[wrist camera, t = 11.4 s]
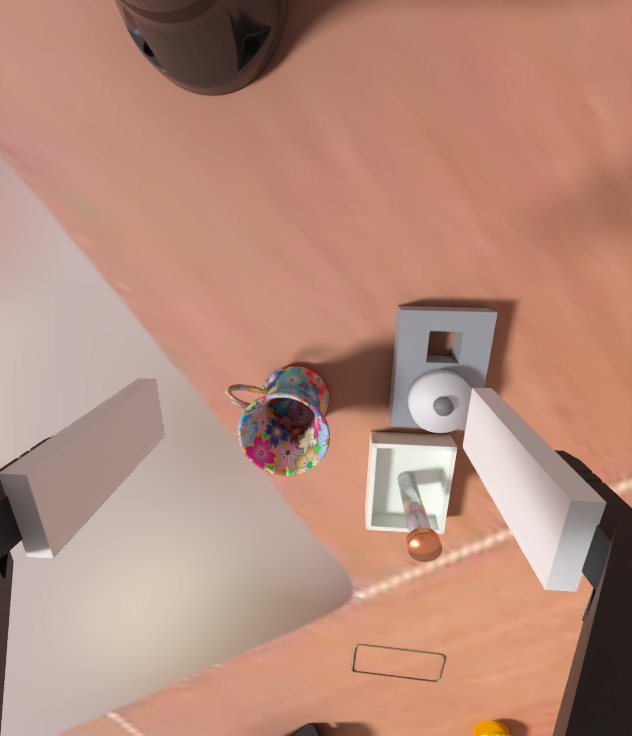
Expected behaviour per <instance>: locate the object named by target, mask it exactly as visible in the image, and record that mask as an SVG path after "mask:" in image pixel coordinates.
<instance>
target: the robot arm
mask: <svg viewBox="0 0 632 736" xmlns="http://www.w3.org/2000/svg"><path fill="white" fill-rule="evenodd" d="M115 1H116V4H117V6H118V9H119V11H120V13H121V16H122V18H123V21H124V23H125V25H126V27H127V30H128V31H129V33H130V35H131V37H132V39H133V40H134V42H135V44H136V45H137V47H138V48H139V49H140V51H141V52H142V53H143V55H144V56H145V57H146V58H147V59H148V61H149V62H150V63H151V64H152V65H153V66H154V67H155V68H156V69H157V70H159V71H160V72H161V73H162V74H163V75H164V76H165V77H166V78H167V79H168V80H170V81H171V82H173V83H174V84H176V85H177V86H179V87H181V88H183V89H185V90H187V91H190V92H193V93H196V94H200V95H210V96H214V95H223V94H227V93H231V92H234V91H236V90H238V89H240V88H242V87H244V86H245V85H247V84H248V83H250V82H251V81H252V80H254V79H255V78H256V77H257V76H258V75H259V74H260V73H261V72H262V70H263V69H264V68H265V67H266V65H267V64H268V62H269V61H270V59H271V58H272V56H273V54H274V52H275V50H276V48H277V45H278V43H279V40H280V37H281V34H282V31H283V27H284V22H285V15H286V5H287V0H115ZM164 436H165V432H164V426H163V420H162V413H161V407H160V402H159V395H158V389H157V382H156V379H142V378H141V379H137V380H136V381H134V382H133V383H131V384H130V385H128V386H127V387H125V388H124V389H122V390H121V391H119V392H118V393H116V394H115V395H113V396H112V397H111V398H109V399H107V400H106V401H105V402H103V403H102V404H100V405H99V406H97V407H96V408H94V409H93V410H91V411H90V412H88V413H87V414H85V415H84V416H82V417H81V418H79V419H78V420H76V421H75V422H73V423H72V424H71V425H69V426H68V427H66V428H65V429H63V430H62V431H60V432H59V433H57V434H56V435H54V436H52V437H49V438H47V439H45V440H43V441H42V442H40V443H38V444H37V445H36V446H34V447H32V448H31V449H30V451H27V452H25V453H24V454H22V455H20V456H19V458H16V459H14V460H13V461H11V462H10V463H8V464H7V465H5V466H4V467H3V468H1V469H0V732H1V720H2V706H3V692H4V680H5V667H6V653H7V640H8V626H9V614H10V599H11V587H12V574H13V559H12V556H11V553H10V550H11V549H12V548H13V547H14V546H15V545H17V544H18V543H19V542H20V541H21V540H22V543H23V546H24V548H25V551H26V554H27V556H28V557H40V558H54V557H55V556H56V555H57V554H58V553H59V552H60V551H61V549H62V548H63V547H64V546H65V545H66V544H67V543H68V542H69V541H70V540H71V539H72V537H73V536H74V535H75V534H76V533H77V532H78V531H79V530H80V529H81V528H82V526H83V525H84V524H85V523H86V522H87V521H88V520H89V519H90V518H91V517H92V516H93V514H94V513H95V512H96V511H97V510H98V509H99V508H100V507H101V506H102V504H103V503H104V502H105V501H106V500H107V499H108V498H109V497H110V496H111V494H113V492H114V491H115V490H116V489H117V488H118V487H119V486H120V485H121V484H122V483H123V481H124V480H125V479H126V478H127V477H128V476H129V475H130V474H131V473H132V472H133V470H134V469H135V468H136V467H137V466H138V465H139V464H140V463H141V462H142V460H143V459H144V458H145V457H146V456H147V455H148V454H149V453H150V452H151V451H152V450H153V448H154V447H155V446H156V445H157V444H158V443H159V442H160V441H161V440H162V439H163V437H164ZM463 449H464V451H465V452H466V454H467V456H468V457H469V459H470V461H471V463H472V464H473V466H474V468H475V470H476V471H477V473H478V475H479V476H480V478H481V480H482V482H483V483H484V485H485V487H486V489H487V490H488V492H489V494H490V495H491V497H492V499H493V501H494V502H495V504H496V506H497V508H498V509H499V511H500V513H501V515H502V516H503V518H504V520H505V521H506V523H507V525H508V527H509V528H510V530H511V532H512V534H513V535H514V537H515V539H516V540H517V542H518V544H519V546H520V547H521V549H522V551H523V553H524V554H525V556H526V558H527V560H528V561H529V563H530V565H531V566H532V568H533V570H534V572H535V573H536V575H537V577H538V579H539V580H540V582H541V584H542V585H543V587H544V589H545V590H559V591H574V592H577V589H578V586H579V583H580V580H581V577H582V574H584V575H585V577H586V578H587V579H588V581H589V582H590V584H591V585H592V586H593V591H592V594H591V596H590V599H589V602H588V605H587V608H586V610H585V613H584V616H583V619H582V621H584V622H583V625H582V629H581V633H580V636H579V640H578V644H577V647H576V651H575V655H574V659H573V662H572V666H571V670H570V673H569V677H568V681H567V684H566V688H565V692H564V695H563V699H562V703H561V706H560V710H559V714H558V718H557V721H556V725H555V729H554V732H553V736H632V508H631V507H630V506H629V505H628V504H627V503H626V502H625V501H623V500H622V499H621V498H620V497H619V496H618V495H617V494H616V493H615V492H614V491H613V490H612V489H610V488H609V487H608V486H607V485H606V484H605V483H602V480H601V479H600V478H599V477H598V476H596V475H595V474H593V473H592V471H591V470H590V469H589V468H588V467H587V466H586V465H585V464H584V463H582V462H581V461H580V460H579V459H577V458H575V457H573V456H572V455H570V454H568V453H566V452H565V451H557V450H553V449H552V448H551V447H550V446H549V445H548V444H547V443H546V442H545V441H544V440H543V439H542V438H541V437H540V436H539V435H538V434H537V433H536V432H535V431H534V430H533V429H532V428H531V427H530V426H529V425H528V424H527V423H526V422H525V421H524V420H523V419H522V418H521V417H520V416H519V415H518V414H517V413H516V412H515V411H514V410H513V409H512V408H511V407H510V406H509V405H508V404H507V403H506V402H505V401H504V400H503V399H502V398H501V397H500V396H499V395H498V394H497V393H496V392H495V391H494V390H493V389H492V388H472V392H471V398H470V404H469V411H468V417H467V423H466V429H465V436H464V442H463Z"/></svg>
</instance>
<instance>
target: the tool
mask: <svg viewBox="0 0 632 736" xmlns="http://www.w3.org/2000/svg"><path fill="white" fill-rule="evenodd" d="M294 736H320V735H319V734H318V732H317V730H316V729H315V727H314V726H313V724H307V725H306V726H304V727H303V728H302V729H301V730H300V731H299V732H298V733H296V734H295V735H294Z"/></svg>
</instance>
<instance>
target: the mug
mask: <svg viewBox="0 0 632 736" xmlns="http://www.w3.org/2000/svg"><path fill="white" fill-rule="evenodd" d="M235 390H244V391H250V392H254V393H258V394H261V395H262V397H260V398H258V399H256V400H255V401H253V402H252V403H247V402H244V401H241V400H239V399H238V398H236V397H235V396H234V395H233V394H232V393H231V391H235ZM225 394H226V397H227V399H228V400H229V401H230V402H231V403H233V404H234V405H236V406H238V407H241V408H244V409H245V411H244V412H243V414H242V416H241V418H240V421H239V425H238V438H239V442H240V445H241V448H242V450H243V451H244V453H245V455H246V456H247V457H248V459H249V460H250V461H251V462H252V463H254V464H255V465H256V466H258V467H259V468H261V469H263V470H265V471H267V472H269V473H273V474H277V475H286V476H288V475H297V474H301V473H304V472H306V471H308V470H310V469H312V468H313V467H315V466H316V465H317V464H318V463H319V462H320V461H321V460H322V459H323V457H324V456H325V454H326V452H327V449H328V446H329V441H330V432H329V427H328V424H327V421H326V419H325V417H324V414H325V413H326V410H327V408H328V404H329V393H328V389H327V387H326V385H325V383H324V381H323V380H322V379H321V377H320V376H319V375H317V374H316V373H315V372H313V371H312V370H310V369H307V368H305V367H300V366H288V367H283V368H281V369H279V370H277V371H275V372H274V373H272V374H271V375H270V376H269V377H268V379H267V380H266V382H265V384H264V385H263V386H262V387H261V388H259V387H255V386H251V385H243V384H236V385H232V386H229V387H228V388H227V390H226V393H225Z"/></svg>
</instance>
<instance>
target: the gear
mask: <svg viewBox="0 0 632 736" xmlns="http://www.w3.org/2000/svg"><path fill="white" fill-rule="evenodd" d="M473 735H474V736H510V734H509V731H508V728H507V727H506V725H504V724H503V723H501V722H498V721H483V722H480V723H478V724H477V725H476V726H475V727H474V728H473Z"/></svg>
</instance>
